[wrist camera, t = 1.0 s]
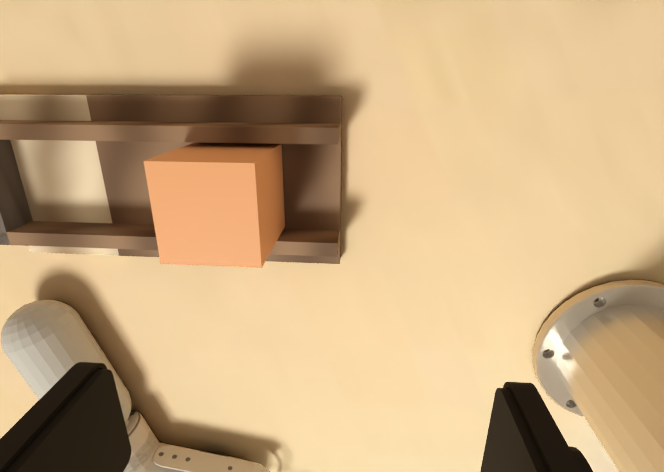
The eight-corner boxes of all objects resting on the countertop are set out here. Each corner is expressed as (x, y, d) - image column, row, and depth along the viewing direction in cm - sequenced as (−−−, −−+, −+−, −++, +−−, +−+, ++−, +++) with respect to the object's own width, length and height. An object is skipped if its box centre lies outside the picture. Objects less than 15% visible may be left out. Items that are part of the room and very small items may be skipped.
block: (281, 143, 28) (254, 163, 21) (285, 226, 30) (261, 267, 23) (195, 141, 28) (143, 161, 22) (205, 223, 30) (160, 263, 24)
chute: (342, 95, 27) (338, 98, 24) (340, 258, 32) (337, 278, 28) (-4, 94, 29) (-50, 96, 26) (39, 247, 34) (4, 265, 30)
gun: (58, 510, 46) (34, 281, 36) (304, 559, 46) (356, 345, 35) (18, 566, 41) (-25, 317, 30) (296, 622, 41) (355, 392, 30)
